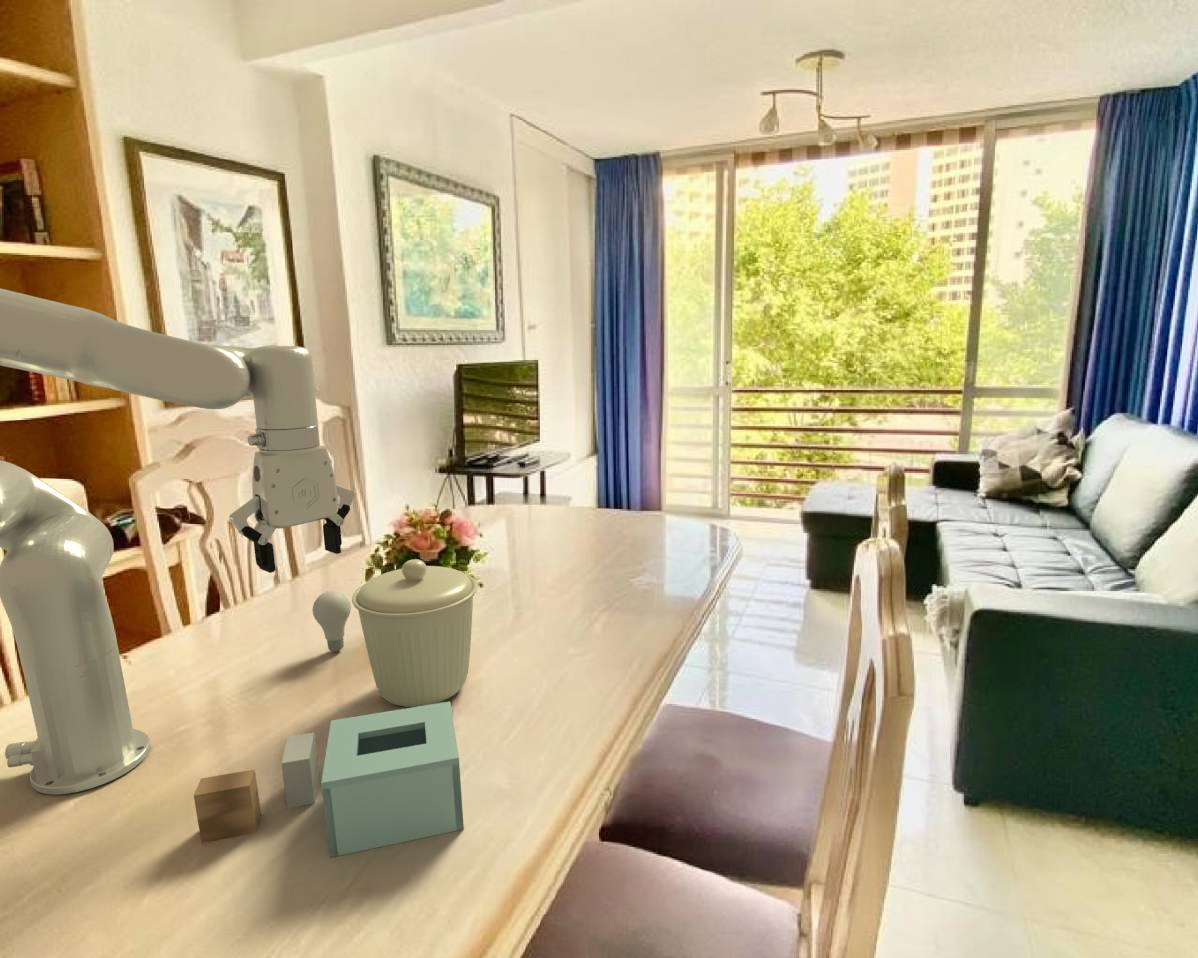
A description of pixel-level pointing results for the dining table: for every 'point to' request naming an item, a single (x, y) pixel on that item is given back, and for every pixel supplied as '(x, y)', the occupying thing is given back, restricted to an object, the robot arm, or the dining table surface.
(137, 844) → the dining table surface
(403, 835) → the coin box
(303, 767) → the gray rectangular block
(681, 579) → the dining table surface
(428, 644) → the canister
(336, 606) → the lightbulb
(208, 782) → the wooden block
